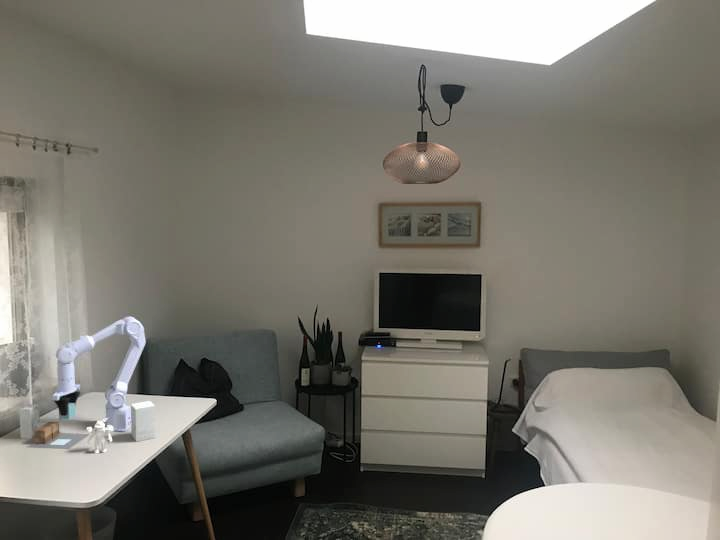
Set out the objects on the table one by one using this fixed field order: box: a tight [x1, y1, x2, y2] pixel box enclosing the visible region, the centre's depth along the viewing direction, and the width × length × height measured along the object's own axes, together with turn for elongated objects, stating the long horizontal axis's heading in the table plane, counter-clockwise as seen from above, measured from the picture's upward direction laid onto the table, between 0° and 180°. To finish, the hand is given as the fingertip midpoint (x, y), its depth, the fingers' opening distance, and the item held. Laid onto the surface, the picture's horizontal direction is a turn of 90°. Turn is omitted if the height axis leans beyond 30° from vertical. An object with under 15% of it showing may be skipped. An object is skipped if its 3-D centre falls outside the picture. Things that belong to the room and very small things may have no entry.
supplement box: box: [130, 400, 157, 442], centre depth 217 cm, size 7×7×13 cm
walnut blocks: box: [34, 421, 60, 444], centre depth 212 cm, size 4×8×5 cm, turn 176°
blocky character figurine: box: [85, 417, 114, 454], centre depth 203 cm, size 9×4×12 cm, turn 107°
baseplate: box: [26, 432, 90, 450], centre depth 211 cm, size 16×14×1 cm
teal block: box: [58, 403, 76, 420], centre depth 217 cm, size 4×4×5 cm
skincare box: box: [18, 403, 41, 440], centre depth 215 cm, size 6×4×12 cm
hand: (67, 413), depth 217 cm, fingers closed on teal block, 4 cm apart
